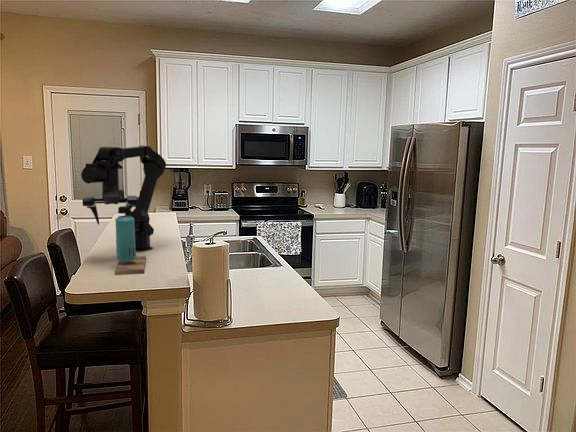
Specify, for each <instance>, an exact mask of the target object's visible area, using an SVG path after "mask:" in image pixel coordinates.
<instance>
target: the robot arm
mask: <svg viewBox="0 0 576 432" xmlns="http://www.w3.org/2000/svg"><path fill="white" fill-rule="evenodd" d="M138 157H139V160H140V162H141V164H142V165H143V169H142V170H143V173H144V179H143V182H142V185H141V188H140V192H139V195H138V196H137V195H126V197H125V190H124V189H120V183H119V182H120V178H119V175H120V174H119V170H121V169H122V170H123V169H124V167H123V166H122V165H121V164H120V163H121V162H123V161H124V160H126V159H130V158H131V159H132V158H138ZM166 168H167V162H166V161H165V159H164V158H163V157H162V156H161V154H159V153H157V152H156V151H155V150H153V148H152V147H151V146H150V145H137V146H129V147H117V146H101V147H99V148H98V150H97V153H96V155H95V157H94V159H93V161H92V163H85V167H83V169H82V170H81V173H80V175H81V179H82V181H83V182H84V183H85V184H87V185H88V184H99V183H101V194H102V196H101V197H102V198H99V197H98V198H97V197H96V196H89V195H87V196H84V197H82V206H83V207H86V208H87V209H90V210H91V212H92V213H93V216H94V218H95V221H96V223H97V225H100V219H99V214H98V208H97V204H105V205H118V204H121V203H122V204H125V206H128V207H130V208H131V209H132V208H134V209H133V210H131V213H125V214H124V216H132V217H133V218H134V219H135V221H134V224H135V235H136V236H135V246H136V252H142V251H149V250H152V249H153V247H152V246H151V236H152V235H154V230H155V229H154V227H153V226H152V225H151V223H150V220H151V219H150V214H149V209H150V205H151V202H152V198H153V195H154V192H155V188H156V185H157V181H158V179H159V178H160V177H161V176H162V175H163V174H164V172H165V170H166ZM138 197H139V198H138ZM135 205H136V208H135Z"/></svg>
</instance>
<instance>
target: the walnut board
mask: <svg viewBox="0 0 576 432" xmlns="http://www.w3.org/2000/svg"><path fill="white" fill-rule="evenodd" d="M146 262H147V255H136V258H135V259H134V260H131V261H119V260H118V261H117V265H116V267H115V270H114V275H116V276H117V275H133V274H134V275H135V274H136V275H137V274H139V275H140V274H144V273H145V267H146Z"/></svg>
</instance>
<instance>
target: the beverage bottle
mask: <svg viewBox="0 0 576 432" xmlns="http://www.w3.org/2000/svg"><path fill="white" fill-rule="evenodd" d="M131 211H132V208H130V207H128V206H126V205H125V206H118V211H117V213H118V214H124V215H118V217H116V218H115V219H114V220H115V244H116V247H115V248H116V259H117V260H118V262H119V261H131V260H134V259H135V258H136V256H137V251H136V246H135V236H136V235H135V224H134V221H135V219H134V218H133V217H132V216H125V213H131Z"/></svg>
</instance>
